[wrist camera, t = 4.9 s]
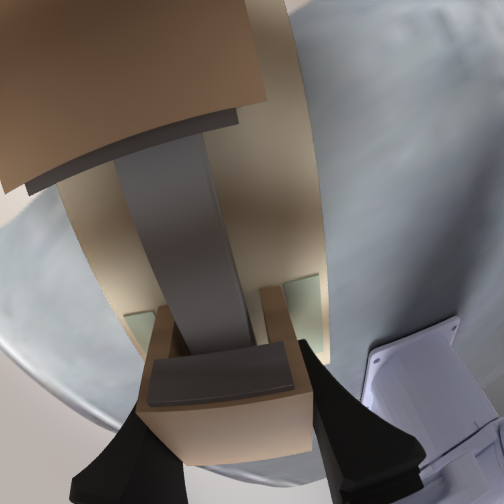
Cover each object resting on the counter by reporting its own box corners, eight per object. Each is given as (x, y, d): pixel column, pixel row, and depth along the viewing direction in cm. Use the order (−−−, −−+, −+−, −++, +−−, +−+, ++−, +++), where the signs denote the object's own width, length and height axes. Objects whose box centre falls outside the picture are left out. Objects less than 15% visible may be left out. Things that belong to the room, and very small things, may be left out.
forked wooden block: (288, 360, 15) (311, 450, 10) (190, 375, 14) (187, 465, 10) (279, 279, 12) (313, 385, 7) (156, 301, 12) (131, 407, 7)
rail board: (325, 351, 17) (359, 441, 11) (169, 382, 16) (162, 473, 11) (267, -30, 7) (314, -123, 1) (38, 44, 7) (-67, 32, 1)
